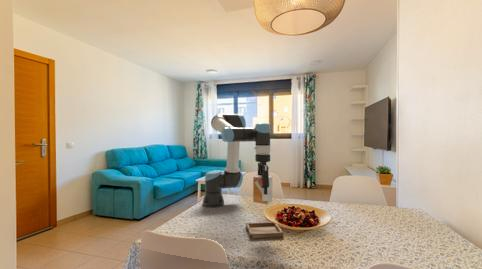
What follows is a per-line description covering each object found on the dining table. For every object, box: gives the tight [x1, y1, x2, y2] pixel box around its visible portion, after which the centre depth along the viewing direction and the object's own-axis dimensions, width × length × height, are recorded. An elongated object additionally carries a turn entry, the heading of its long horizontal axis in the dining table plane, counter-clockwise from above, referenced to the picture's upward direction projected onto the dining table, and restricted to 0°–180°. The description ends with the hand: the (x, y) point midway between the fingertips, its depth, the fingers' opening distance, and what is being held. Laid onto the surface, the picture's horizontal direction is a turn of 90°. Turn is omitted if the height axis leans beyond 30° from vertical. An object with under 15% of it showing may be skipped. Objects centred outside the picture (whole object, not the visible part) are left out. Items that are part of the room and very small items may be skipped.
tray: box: [245, 221, 284, 241], centre depth 118 cm, size 14×16×2 cm
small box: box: [252, 174, 273, 206], centre depth 117 cm, size 8×6×13 cm
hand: (262, 197), depth 118 cm, fingers closed on small box, 10 cm apart
